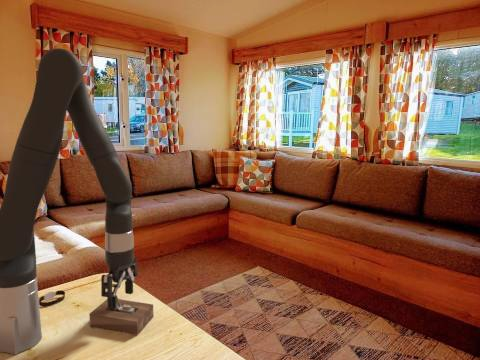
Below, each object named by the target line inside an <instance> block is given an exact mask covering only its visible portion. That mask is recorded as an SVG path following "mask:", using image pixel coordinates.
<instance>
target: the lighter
mask: <svg viewBox="0 0 480 360" xmlns="http://www.w3.org/2000/svg"><path fill="white" fill-rule="evenodd" d="M119 299H120V298H118V296H117V294H116V300H117V307H116V308H115V309H114V310H118V309H119V312H123V313H129V314H134V313H135V310H134V308H131V307H130V305H123V306H121V304H120V301H119Z"/></svg>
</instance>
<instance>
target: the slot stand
mask: <svg viewBox="0 0 480 360" xmlns="http://www.w3.org/2000/svg"><path fill="white" fill-rule="evenodd" d="M118 299H119V301H120V304H121V306H123V305H130V307H131V308H134V310H135V313H134V314H129V313H123V312H119V309H118V310H114V309H110V308H108V300H107V299H105V300H104V301H103V302H102V303H100V304H99V305H97V307H96V308H95V309H93V310H91V311H90V313H89V327H90V328H94V329H101V330H105V331H111V332H119V333H122V334H128V335H133V336H139V334H140V333H141V332H142V331H143V330H144V329H145V328H146V326H147V325H148V324H149V322H151V321H152V319H154V316H155V315H154V304H153V303H152V304H151V303H147V302H140V301H133V300H126V299H120V298H118Z"/></svg>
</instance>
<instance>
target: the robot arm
mask: <svg viewBox="0 0 480 360" xmlns="http://www.w3.org/2000/svg"><path fill="white" fill-rule="evenodd" d="M83 70H84V69H83V66H82V64H81V62H80V60H79V58H78V57H77V56H76V55H75V54H74V53H73V52H71V51H70V50H69V49H68V50H67V49H65V48H59V47H58V48H53V49H49V50H48V51H46V52H45V53H44V54H43V55H42V56H41V58H40V60H39V63H38V69H37V74H36V81H35V85H34V90H33V91H34V92H33V95H32V96H33V97H32V100H31V103H30V106H29V108H28V111H27V113H26V116H25V118H24V121H23V123H22V125H21V128H20V131H19V134H18V136H17V139H16V141H15V142H16V143H15V146H14V149H13V152H12V155H11V159H10V163H9V167H8V172H7V176H6V182H5V190H4V193H3V194H4V195H3V198H2V202H1V205H0V352H2V353H7V354H12V355H18V354H19V353H21V352H23V351H27V350H29V349H30V348H32V347H35V346H36V345H37V344H38V343H39V342H40V341H42V337H43V336H42V334H43V333H42V323H41V313H40V312H41V311H40V305H39V299H40V297H39V288H38V277H37V275H38V274H37V255H36V240H35V231H34V228H35V223H36V218H37V213H38V209H39V206H40V203H41V201H42V198H43V196H44V194H45V193H46V190H47V189H48V186H49V184H50V181H51V178H52V176H53V173H54V172H55V169H56V165H57V162H58V158H59V155H60V152H61V147H62V142H63V141H62V140H63V136H64V127H65V119H66V116H67V115H66V114H67V113H68V116H69V117H70V119H71V123H72V125H73V126H74V130H75V133H76V134H77V135H76V136H77V137H78V140H79V142H80V144H81V147H82V149H83V150H84V153H85V154H86V157H87V158H88V161H89V163H90V164H91V166H92V168H93V170H94V172H95V175H96V178H97V181H98V183H99V185H100V188H101V190H102V193H103V194H104V196H105V208H106V209H105V216H104V217H105V219H104V221H105V222H104V223H105V225H104V226H105V228H104V229H105V230H104V231H105V232H104V233H105V236H104V251H105V254H104V255H105V257H104V258H105V264H106V266H108V267H109V269H108V273H106V274H102V275H101V277H100V279H101V280H100V281H101V282H100V283H101V297H104V298H107V299H106V300H108V308H110V309H115V308H116V307H117V300H116V295H117V291H118V289H120V288H121V287H122V283H123V282H124V281H125V282H124V293H125V294H128V295H132V294H133V293H134V282H135V277H136V278H137V277H138V275H139V274H138V259H137V257H135V237H134V231H133V213H132V193H133V187H132V186H133V184H132V181H131V179H130V178H129V176H127V175H126V171H124V168H123V167H122V164H121V161H120V158H119V154H118V152H117V150H116V148H115V146H114V144H113V142H112V140H111V138H110V135H109V133H108V131H107V130H106V129H107V128H106V127H105V126H104V125H103V124H104V123H103V122H102V120H101V118H100V117H99V115H98V113H97V111H96V110H95V108H94V105H93V103H92V100H91V98H90V96H89V93H88V89H87V85H86V82H85V78H84V71H83ZM132 270H133V271H132Z"/></svg>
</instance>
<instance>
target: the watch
mask: <svg viewBox="0 0 480 360" xmlns="http://www.w3.org/2000/svg"><path fill="white" fill-rule="evenodd" d="M60 295H61V297H59V298H57V299H54V298H55V297H56V296H60ZM65 296H66V292H65V290H57V291H55V290H48V291H47V292H45V294H44V295H42V296H41V297H39V307H44V308H45V307H50V306H53V305H56V304H58V303H60V302H62V301H64V300H65ZM53 299H54V300H53ZM50 300H51V301H50ZM44 301H47V302H44Z"/></svg>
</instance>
